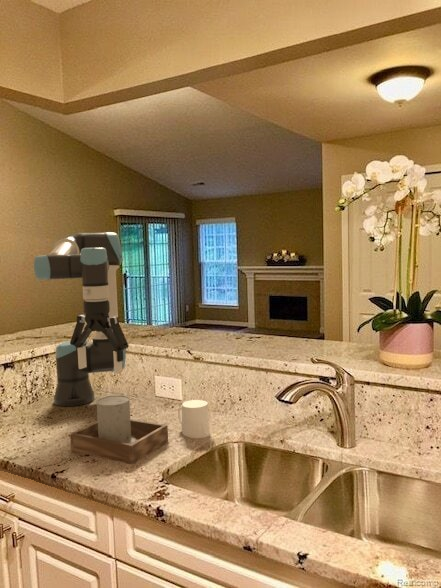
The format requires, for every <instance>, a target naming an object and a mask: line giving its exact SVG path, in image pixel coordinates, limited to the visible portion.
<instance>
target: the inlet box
mask: <svg viewBox="0 0 441 588" xmlns="http://www.w3.org/2000/svg"><path fill="white" fill-rule="evenodd" d="M130 422H131V438H132V440H131V442H130V443H124V442H118V441H113V440H108V439H102V438H99V436H98V420H97V421H95V422H93V423H91V424H88V425H87V426H84V427H83V428H80V429H79V430H75V431H73V432H72V433H69V434H70V437H69V438H70V451H71V452H75V453H78V454H84V455H88V456H93V457H97V458H103V459H108V460H113V461H116V462H122V463H127V464H131V465H134V464H136V463H137V462H138V461H139V460H141V459H144V457H147V456H148V455H149V454H151V453H152V452H154V451H156V450H158V448H160V447H162V446H163V445H165V444H166V443H168V442H169V427H168V424H164V423H157V422H150V421H145V420H144V421H143V420H140V419H139V420H137V419H131V418H130Z"/></svg>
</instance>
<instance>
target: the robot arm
mask: <svg viewBox="0 0 441 588" xmlns="http://www.w3.org/2000/svg"><path fill="white" fill-rule="evenodd" d="M119 237H120V236H119V234H117V233H116V232H111V231H108V232H107V231H104V232H103V231H101V232H100V231H99V232H76V233H73V234H71V233H70V234H68V235H66V236H63V237H61V238H59V239H58V240H57V241H56V242H55V243H54V245H53V247H52V251H50V252H49V254H42V255H36V256H35V257H34V260H33V271H34V272H33V273H34V276H35V278H36V279H37V280H45V281H49V280H65V279H66V280H68V279H69V280H70V279H71V280H72V279H81V281H82V282H81V285H82V300H84V301H83V302H82V306H83V313H84V314H80V315H76V324H75V327H74V329H73V333H72V336H71V338H70V340H68V341H65V342H61V343H60V344H58V345H56V348H55V362H56V378H57V380H56V381H57V384H56V388H55V393H54V395H53V404H54V405H56V406H58V407H59V406H60V407H76V406H82V405H87V404H88V403H91V402H93V401H94V400H95V391H94V390H93V387H92V384H91V382H90V377H89V376H90V375H89V374H95V373H97V374H98V373H105V372H106V373H107V372H108V373H109V372H112V373H114V374H119V373H121V372H123V370H124V369H125V366H126V358H127V357H126V354H127V349H128V348H129V347H130V346H129V343H128V341H127V339H126V336H125V334H124V332H123V330H122V327H121V325H120V321H119V314H118V313H119V310H118V309H119V308H118V293H117V292H118V289H117V288H118V287H117V270H118V269H119V268H120V263H122V262H123V261H124V258H123V253H122V252H123V251H122V248H121V247H122V246H121V242H120V238H119ZM92 332H95V334H94V336H93V337H92V342H88V341H87V340H88V338H89V337H90V335H91V333H92Z"/></svg>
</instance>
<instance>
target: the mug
mask: <svg viewBox="0 0 441 588" xmlns="http://www.w3.org/2000/svg"><path fill="white" fill-rule="evenodd" d="M177 417H178V420H179V423H180V427H181V430H180V431H182V432H181V434H182V435H183V436H185V437H188V438H190V439H191V438H192V439H204V438H207V437H209V436H210V434H211V431H210V422H209V421H210V414H209V403H208V402H207V401H206V400H204V399H203V400H202V399H192V400H186V401H184V402H182V404H181V406H179V408H178V410H177Z"/></svg>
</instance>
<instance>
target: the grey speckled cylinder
mask: <svg viewBox="0 0 441 588" xmlns="http://www.w3.org/2000/svg"><path fill="white" fill-rule="evenodd" d="M130 399H131V398H130V397H129V396H126V395H108V396H104V397H100V398H99V399H97V400H96V414H97V415H96V418H97V421H98V436H99V438H102V439H108V440H113V441H118V442H124V443H130V442H131V440H132V438H131V422H130V419H131V403H130V402H131V401H130Z"/></svg>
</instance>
